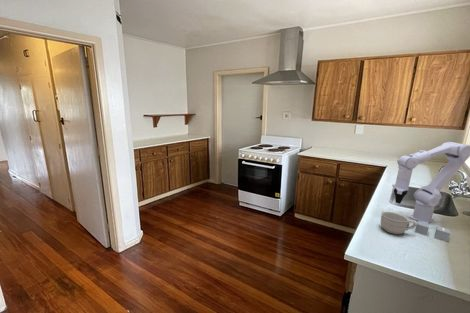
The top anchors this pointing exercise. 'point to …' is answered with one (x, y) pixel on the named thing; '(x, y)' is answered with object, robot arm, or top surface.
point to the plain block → (422, 228)
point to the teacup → (395, 223)
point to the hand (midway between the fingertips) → (397, 202)
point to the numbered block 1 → (442, 233)
